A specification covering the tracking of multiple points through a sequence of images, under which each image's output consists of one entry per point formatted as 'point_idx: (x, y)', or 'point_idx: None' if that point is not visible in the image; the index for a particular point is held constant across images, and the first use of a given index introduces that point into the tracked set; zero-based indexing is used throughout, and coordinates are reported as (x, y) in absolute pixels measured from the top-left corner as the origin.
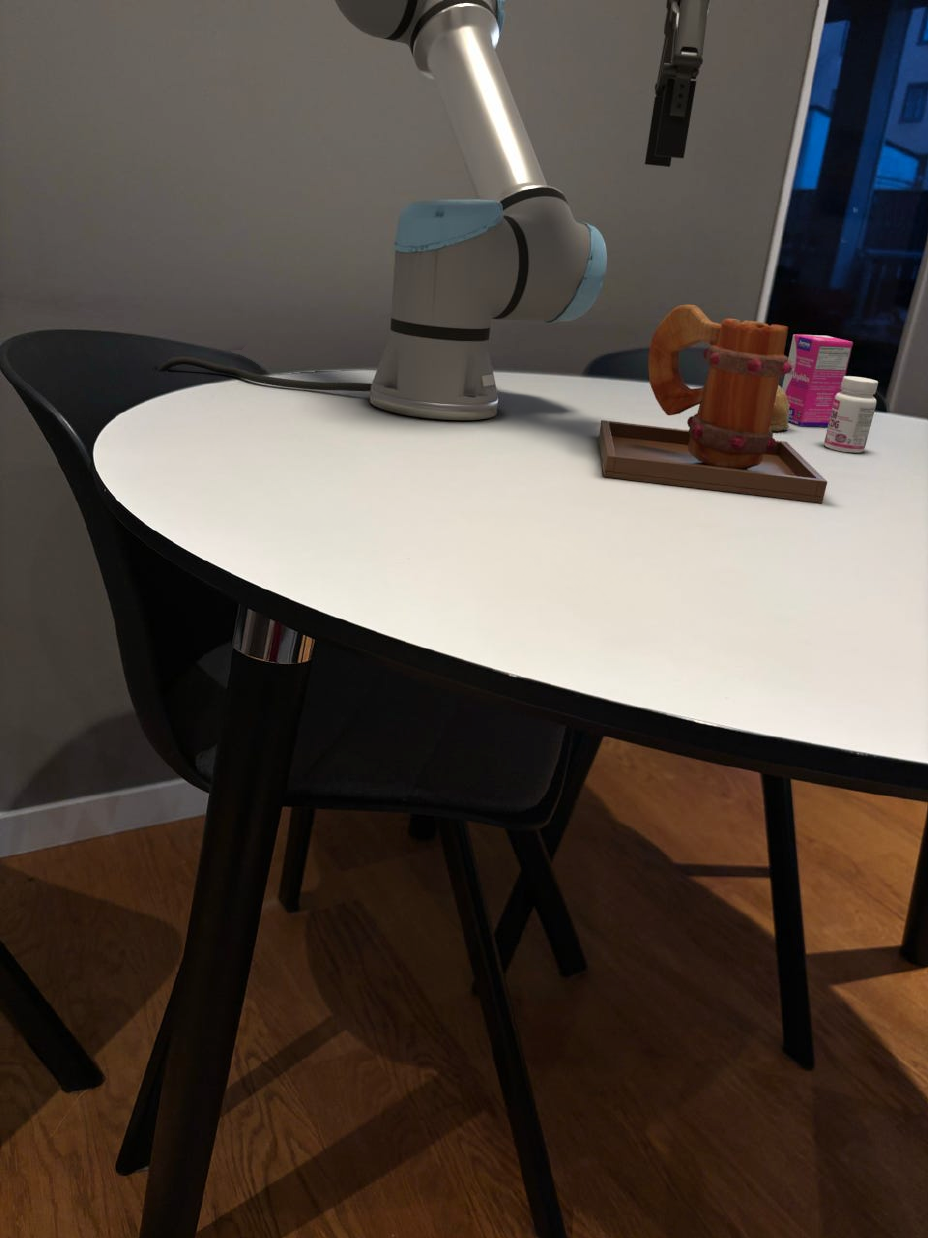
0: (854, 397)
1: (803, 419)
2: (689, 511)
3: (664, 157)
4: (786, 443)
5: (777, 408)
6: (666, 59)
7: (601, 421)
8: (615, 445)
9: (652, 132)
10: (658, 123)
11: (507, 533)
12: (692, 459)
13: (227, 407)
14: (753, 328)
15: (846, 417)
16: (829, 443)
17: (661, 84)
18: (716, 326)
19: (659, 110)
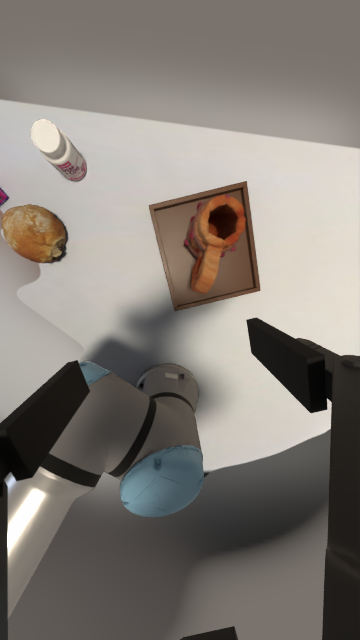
0: (67, 147)
1: (4, 195)
2: (292, 246)
3: (77, 374)
4: (154, 205)
5: (49, 213)
6: (4, 570)
7: (177, 310)
8: (198, 296)
9: (68, 417)
10: (57, 422)
11: (353, 301)
12: None
13: (233, 444)
14: (244, 221)
15: (76, 158)
16: (81, 176)
17: (5, 500)
18: (221, 250)
19: (45, 441)
